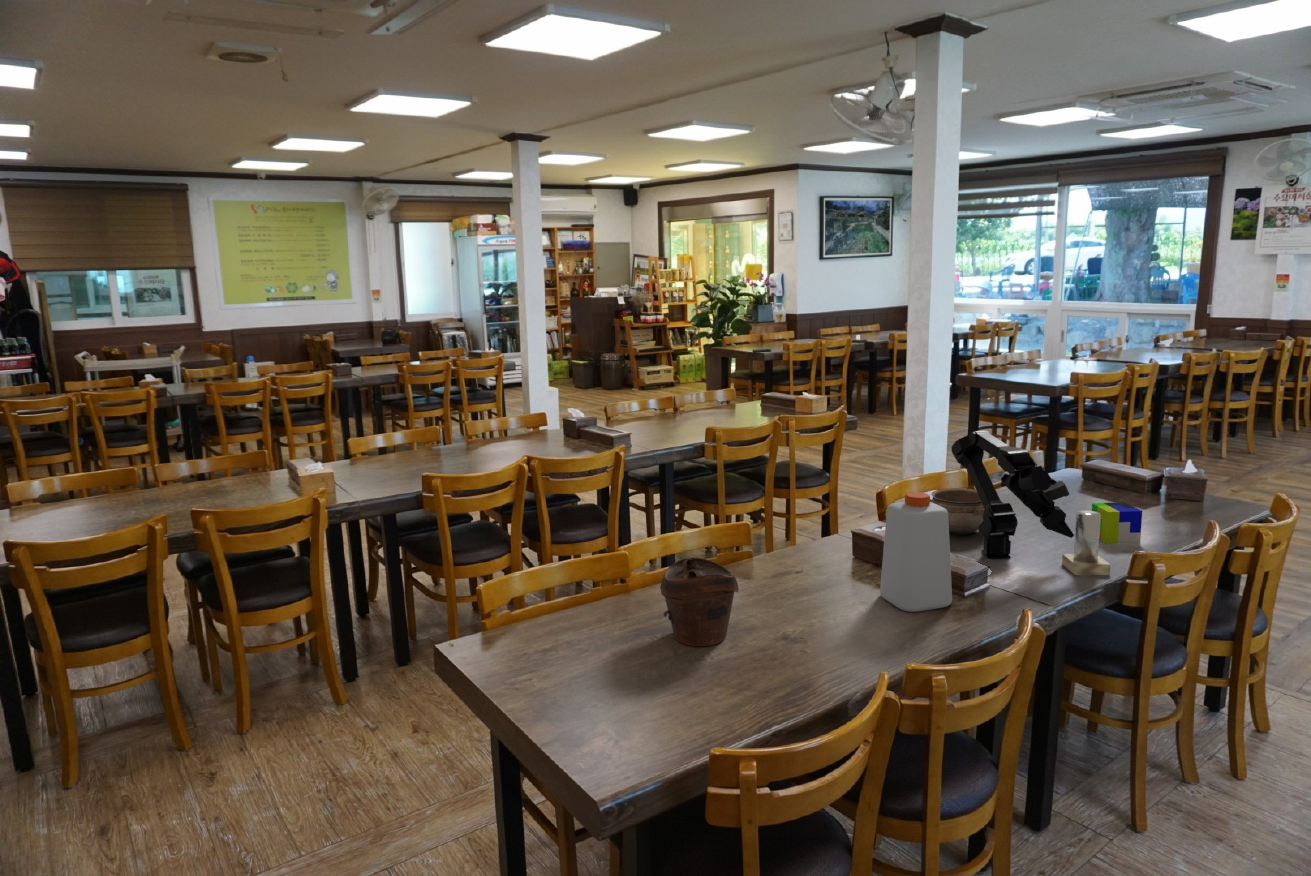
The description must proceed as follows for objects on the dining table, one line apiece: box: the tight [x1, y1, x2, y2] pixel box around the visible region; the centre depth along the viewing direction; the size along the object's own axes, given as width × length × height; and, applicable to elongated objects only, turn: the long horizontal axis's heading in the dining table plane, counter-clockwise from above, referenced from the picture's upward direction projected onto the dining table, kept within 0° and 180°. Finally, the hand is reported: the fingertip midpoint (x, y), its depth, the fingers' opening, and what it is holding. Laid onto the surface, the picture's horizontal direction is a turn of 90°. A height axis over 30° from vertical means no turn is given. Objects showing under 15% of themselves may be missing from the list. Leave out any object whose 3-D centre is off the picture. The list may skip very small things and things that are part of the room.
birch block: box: [1061, 553, 1111, 576], centre depth 234 cm, size 9×9×3 cm
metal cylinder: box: [1073, 509, 1101, 563], centre depth 233 cm, size 6×6×13 cm
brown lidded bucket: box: [659, 556, 740, 647], centre depth 200 cm, size 18×20×18 cm
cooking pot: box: [930, 487, 985, 536], centre depth 270 cm, size 25×19×12 cm
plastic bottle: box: [879, 491, 953, 613], centre depth 215 cm, size 15×15×28 cm
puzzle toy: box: [1091, 501, 1143, 545], centre depth 258 cm, size 10×10×10 cm
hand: (1068, 531), depth 234 cm, fingers open, 9 cm apart
